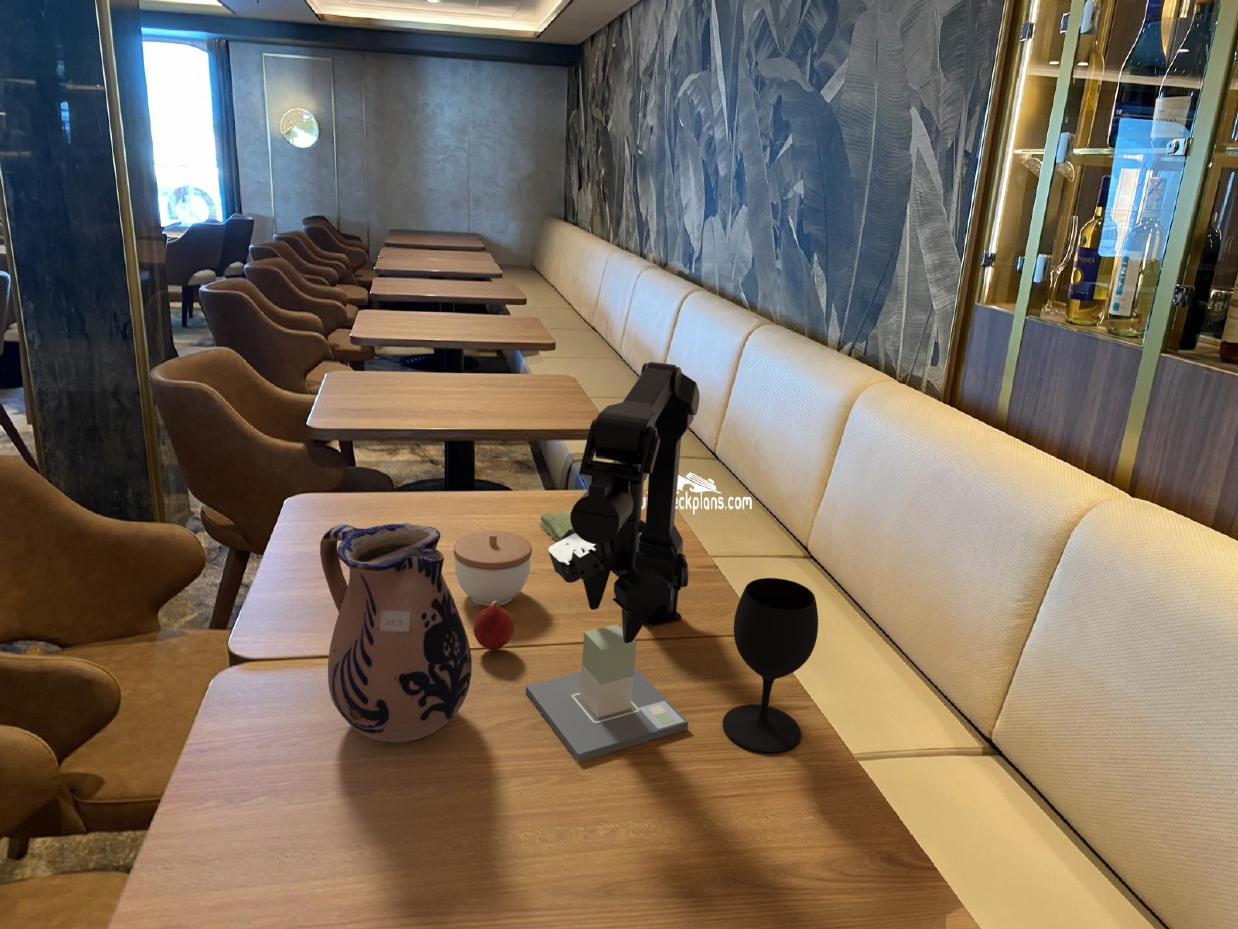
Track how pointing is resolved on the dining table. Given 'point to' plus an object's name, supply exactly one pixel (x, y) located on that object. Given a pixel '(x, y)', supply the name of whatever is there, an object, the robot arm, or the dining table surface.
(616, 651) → the sage block
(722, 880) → the dining table surface
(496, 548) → the lidded bowl
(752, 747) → the wine glass
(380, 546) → the ceramic pitcher
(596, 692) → the cream block
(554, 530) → the washcloth
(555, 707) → the slate board
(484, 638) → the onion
